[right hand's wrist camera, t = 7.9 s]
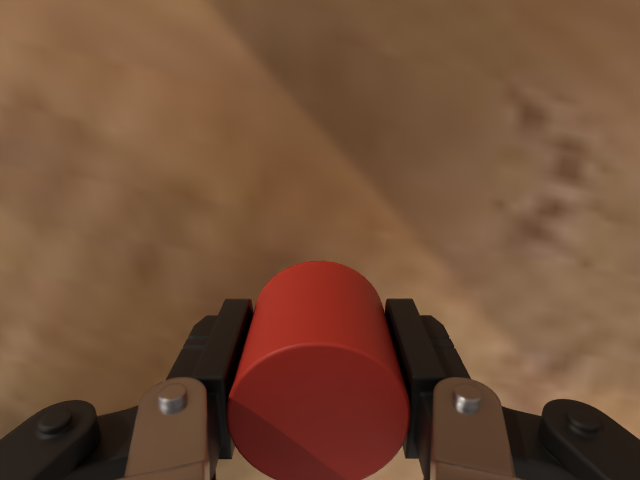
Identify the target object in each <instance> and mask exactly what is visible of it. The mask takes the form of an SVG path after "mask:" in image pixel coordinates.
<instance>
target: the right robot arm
mask: <svg viewBox="0 0 640 480" xmlns="http://www.w3.org/2000/svg"><path fill="white" fill-rule="evenodd" d="M252 316H253V306H252V300H251V299H225V301H224V303H223V305H222V308H221V310H220V312H219V314H218V316H206V317H204V318H203V319H202V320H201V321H199V322H198V323H197V324H196V325H194V327H193V329H192V331H191V333H190V335H189V337H188V339H187V340H186V342H185V344H184V346H183V349H182V350H181V352H180V354H179V356H178V358H177V359H176V361H175V363H174V365H173V367H172V369H171V371H170V373H169V375H168V377H167V379H166V380H165V381H162V382H160V383H158V384H156V385H154V386H153V387H151V388H150V389H149V390H148V391H147V392H146V393H145V394H144V395H143V396H142V398H141V400H140V402H139V405H138V406H135V407H133V408H130V409H127V410H123V411H119V412H114V413H110V414H106V415H102V416H97V415H96V411H95V408H94V407H93V405H91V404H90V403H88V402H86V401H81V400H72V401H65V402H61V403H57V404H54V405H51V406H49V407H47V408H45V409H43V410H41V411H39V412H37V413H36V414H34V415H33V416H31V417H30V418H29V419H27V420H26V421H25V422H23V423H22V424H21V425H19V426H18V427H17V428H15V429H14V430H13V431H11V432H10V433H9V434H7V435H6V436H5V437H3V438H2V439H1V440H0V480H217V477H216V466H217V462H218V459H232V456H233V451H234V447H235V445H234V443H233V441H232V438H231V436H230V433H229V429H228V425H227V415H226V414H227V402H228V398H229V394H230V390H231V387H232V384H233V380H234V377H235V373H236V370H237V367H238V363H239V360H240V357H241V353H242V350H243V346H244V343H245V340H246V336H247V333H248V329H249V326H250V323H251V319H252ZM385 316H386V320H387V323H388V327H389V330H390V334H391V337H392V341H393V344H394V348H395V351H396V355H397V358H398V362H399V365H400V369H401V372H402V376H403V379H404V383H405V386H406V390H407V393H408V397H409V401H410V410H411V419H410V426H409V430H408V433H407V437H406V439H405V441H404V443H403V449H404V454H405V458H408V459H419V461H420V465H421V469H422V473H423V476H424V477H423V480H640V440H639V439H638V438H637V437H635V436H634V435H633V434H631V433H630V432H629V431H627V430H626V429H625V428H623V427H622V426H621V425H619V424H618V423H617V422H615V421H614V420H613V419H611V418H610V417H609V416H607V415H606V414H604V413H603V412H601V411H600V410H598V409H596V408H594V407H592V406H590V405H588V404H585V403H582V402H579V401H575V400H569V399H557V400H552V401H550V402H548V403H547V404H546V405H545V406H544V408H543V411H542V415H541V416H538V415H533V414H529V413H525V412H520V411H516V410H512V409H508V408H505V407H503V406H501V402H500V400H499V398H498V396H497V395H496V394H495V393H494V392H493V391H492V390H491V389H490V388H489V387H487V386H486V385H484V384H482V383H480V382H478V381H475V380H472V379H471V378H470V376H469V374H468V372H467V370H466V368H465V366H464V364H463V362H462V360H461V358H460V357H459V355H458V353H457V351H456V349H455V348H454V345H453V343H452V341H451V339H449V335H448V333H447V331H446V329H445V327H444V326H443V325H442V324H441V323H440V322H439V321H437V320H436V319H435V318H434V317H432V316H431V315H419V312H418V310H417V308H416V306H415V303H414V301H413V299H387V300H386V305H385Z"/></svg>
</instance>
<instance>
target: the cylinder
mask: <svg viewBox="0 0 640 480" xmlns="http://www.w3.org/2000/svg"><path fill="white" fill-rule="evenodd" d="M226 415H227V425H228V429H229V433H230V436H231V438H232V441H233V443H234V445H235V446H236V448H237V449H238V451H239V452H240V454H241V455H242V456H243V457H244V458H245V459H246V460H247V461H248V462H249V463H250V464H251V465H252V466H253V467H255V468H256V469H257V470H259V471H260V472H262V473H264V474H265V475H267V476H269V477H271V478H273V479H276V480H362V479H364V478H366V477H368V476H370V475H372V474H374V473H375V472H377V471H378V470H380V469H381V468H383V467H384V466H385V465H386V464H387V463H389V462H390V461H391V460H392V459H393V457H394V456H395V455H396V454H397V453H398V451H399V450H400V448H401V447H402V445H403V443H404V441H405V439H406V437H407V433H408V430H409V426H410V419H411V410H410V401H409V397H408V393H407V390H406V386H405V383H404V379H403V376H402V372H401V369H400V365H399V362H398V358H397V355H396V351H395V348H394V344H393V341H392V337H391V334H390V330H389V327H388V323H387V320H386V316H385V313H384V309H383V306H382V302H381V300H380V297H379V295H378V293H377V292H376V290H375V288H374V287H373V286H372V284H371V283H370V282H369V281H368V280H367V279H366V278H365V277H364V276H362V275H361V274H359V273H358V272H357V271H355V270H353V269H351V268H349V267H346V266H344V265H341V264H337V263H334V262H327V261H312V262H305V263H300V264H297V265H294V266H291V267H289V268H287V269H285V270H283V271H281V272H280V273H279V274H277V275H276V276H274V277H273V278H272V279H271V280H270V281H269V282H268V283H267V284H266V286H265V287H264V288H263V290H262V292H261V293H260V295H259V297H258V300H257V302H256V306H255V309H254V312H253V316H252V319H251V323H250V326H249V329H248V333H247V336H246V340H245V343H244V346H243V350H242V353H241V357H240V360H239V363H238V367H237V370H236V373H235V377H234V380H233V384H232V387H231V390H230V394H229V398H228V402H227V414H226Z"/></svg>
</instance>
